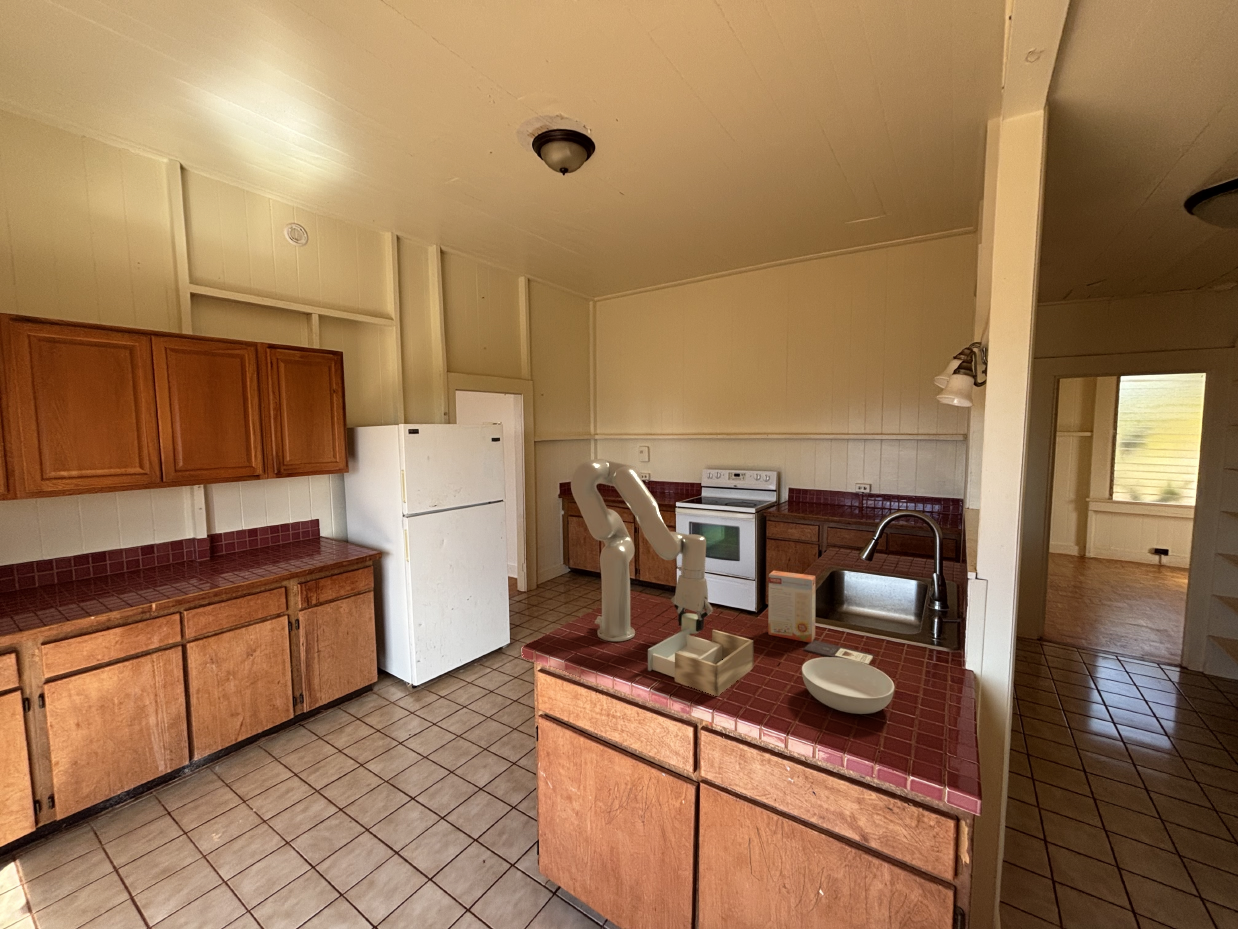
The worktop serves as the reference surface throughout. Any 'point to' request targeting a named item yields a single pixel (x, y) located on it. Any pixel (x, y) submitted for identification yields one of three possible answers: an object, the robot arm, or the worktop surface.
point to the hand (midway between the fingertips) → (690, 627)
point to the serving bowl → (847, 684)
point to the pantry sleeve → (716, 665)
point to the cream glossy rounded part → (689, 622)
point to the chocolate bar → (838, 652)
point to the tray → (682, 651)
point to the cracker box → (792, 606)
